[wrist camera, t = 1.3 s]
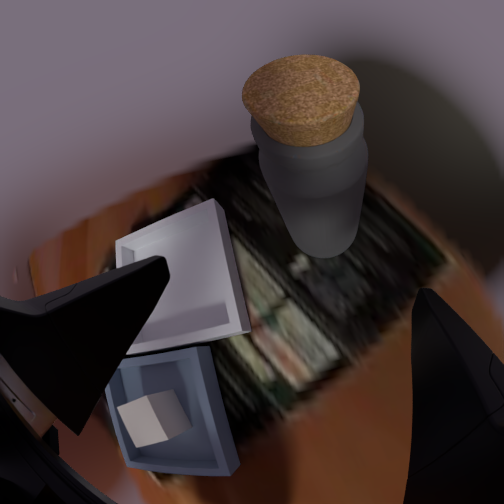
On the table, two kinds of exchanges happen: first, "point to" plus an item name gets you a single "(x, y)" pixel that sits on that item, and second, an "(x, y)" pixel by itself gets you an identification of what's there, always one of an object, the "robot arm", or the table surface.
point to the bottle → (311, 148)
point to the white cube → (154, 418)
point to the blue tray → (193, 403)
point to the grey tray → (189, 279)
